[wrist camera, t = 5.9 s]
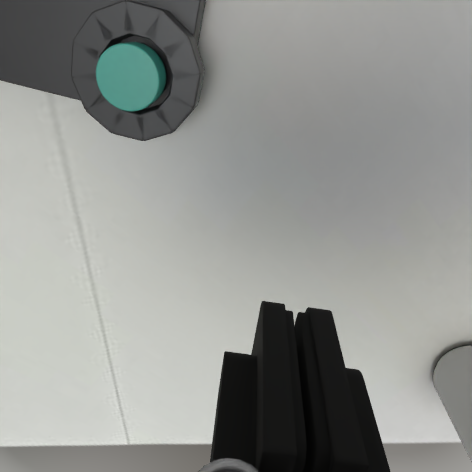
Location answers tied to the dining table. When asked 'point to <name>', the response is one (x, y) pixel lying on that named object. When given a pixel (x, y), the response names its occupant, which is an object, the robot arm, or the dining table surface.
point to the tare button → (130, 76)
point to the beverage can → (457, 391)
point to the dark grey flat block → (94, 44)
